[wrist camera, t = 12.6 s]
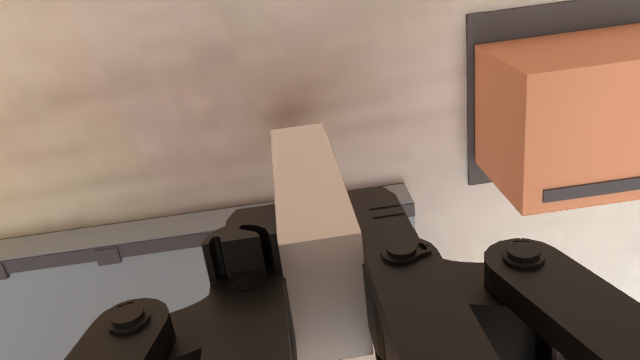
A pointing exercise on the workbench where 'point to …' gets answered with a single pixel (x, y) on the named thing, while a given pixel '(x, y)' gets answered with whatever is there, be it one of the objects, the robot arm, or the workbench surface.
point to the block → (560, 118)
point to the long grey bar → (104, 275)
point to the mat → (580, 14)
